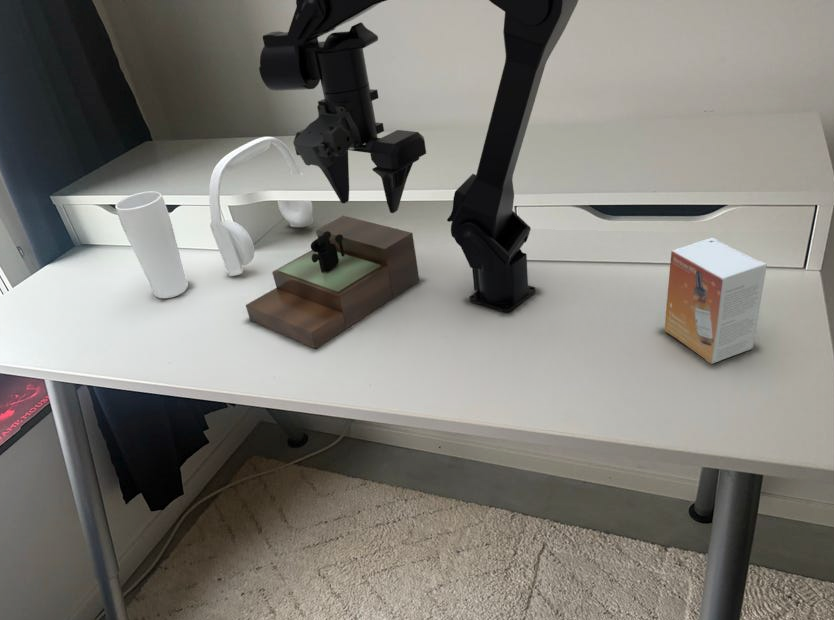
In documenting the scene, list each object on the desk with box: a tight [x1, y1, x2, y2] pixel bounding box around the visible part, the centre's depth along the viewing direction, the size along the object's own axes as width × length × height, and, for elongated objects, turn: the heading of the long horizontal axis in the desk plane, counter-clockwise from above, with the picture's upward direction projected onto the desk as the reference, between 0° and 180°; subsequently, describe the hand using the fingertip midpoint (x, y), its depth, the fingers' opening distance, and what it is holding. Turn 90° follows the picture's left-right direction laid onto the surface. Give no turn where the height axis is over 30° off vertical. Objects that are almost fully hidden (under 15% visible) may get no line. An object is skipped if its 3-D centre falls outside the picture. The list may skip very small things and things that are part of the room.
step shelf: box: [245, 215, 420, 350], centre depth 99 cm, size 14×20×8 cm
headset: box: [208, 136, 314, 277], centre depth 113 cm, size 20×7×18 cm, turn 148°
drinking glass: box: [115, 190, 189, 299], centre depth 107 cm, size 7×7×15 cm
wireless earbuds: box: [310, 231, 345, 273], centre depth 96 cm, size 7×2×5 cm, turn 150°
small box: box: [663, 237, 768, 365], centre depth 77 cm, size 8×6×10 cm
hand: (368, 207), depth 96 cm, fingers open, 9 cm apart
